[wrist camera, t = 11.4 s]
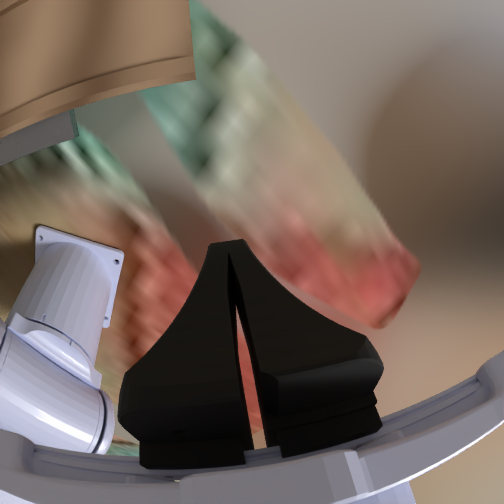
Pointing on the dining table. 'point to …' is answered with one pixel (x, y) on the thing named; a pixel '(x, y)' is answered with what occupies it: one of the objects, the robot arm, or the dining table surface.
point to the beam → (87, 53)
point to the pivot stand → (38, 136)
